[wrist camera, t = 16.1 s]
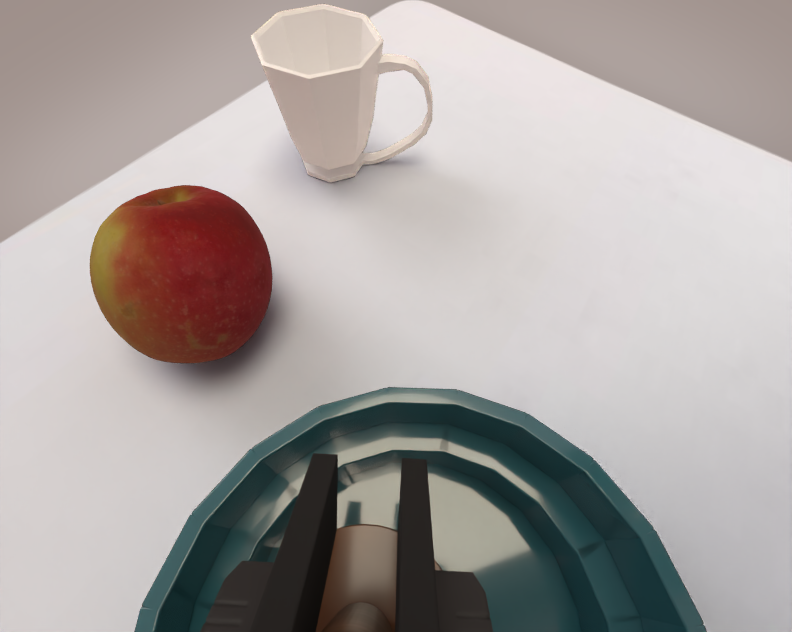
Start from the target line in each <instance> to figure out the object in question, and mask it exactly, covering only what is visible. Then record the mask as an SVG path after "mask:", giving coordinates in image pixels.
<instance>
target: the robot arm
mask: <svg viewBox="0 0 792 632" xmlns="http://www.w3.org/2000/svg"><path fill="white" fill-rule="evenodd" d="M337 489H338V455H336V454H317V453H313V455H312V458H311V461H310V464H309V466H308V469H307V472H306V475H305V478H304V480H303V483H302V486H301V489H300V492H299V494H298V497H297V500H296V503H295V506H294V508H293V511H292V514H291V517H290V520H289V523H288V525H287V528H286V531H285V534H284V537H283V539H282V542H281V545H280V548H279V551H278V553H277V556H276V559H275V562H259V561H241V562H240V563H239V564H238V565H237V567H236V568H235V569H234V570H233V571H232V572H231V573H230V574H229V575H228V576H227V577H226V578H225V580H224V582H223V584H222V586H221V588H220V590H219V592H218V594H217V597H216V599H215V602H214V605H212V607H211V609H210V611H209V614H208V616H207V618H206V622H205V624H203V626H202V629H201V631H200V632H316V628H317V623H318V618H319V613H320V609H321V604H322V599H323V594H324V589H325V584H326V579H327V575H328V570H329V565H330V560H331V555H332V550H333V545H334V541H335V536H336V531H337ZM395 632H493V628H492V623H491V619H490V613H489V608H488V602H487V597H486V592H485V591H484V589H483V587H482V586H481V584H480V583H479V581H478V579H477V578H476V576H475V575H474V573H473V572H460V571H443V570H435V561H434V548H433V535H432V522H431V509H430V496H429V483H428V470H427V459H410V458H402V466H401V483H400V500H399V517H398V538H397V576H396V615H395Z"/></svg>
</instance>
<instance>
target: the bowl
mask: <svg viewBox="0 0 792 632" xmlns="http://www.w3.org/2000/svg"><path fill="white" fill-rule="evenodd" d="M313 453H317V454H336V455H338V489H337V529H338V528H341V527H345V526H350V525H357V524H372V525H380V526H384V527H389V528H391V529H394V530H397V531H398V517H399V500H400V483H401V466H402V458H410V459H427V470H428V483H429V496H430V509H431V522H432V535H433V548H434V559H435V561H436V562H437V563H438V564H439V566H440V567H441V569H442V570H443V571H460V572H473V573H474V575H475V576H476V578H477V579H478V581H479V583H480V584H481V586H482V587H483V589H484V591H485V592H486V597H487V602H488V608H489V613H490V619H491V623H492V628H493V632H706V628H705V626H704V625H703V620H702V618H701V616H700V615H699V613H698V611H697V609H696V607H695V605H694V603H693V601H692V599H691V597H690V595H689V593H688V592H687V590H686V588H685V586H684V584H683V582H682V580H681V578H680V576H679V574H678V572H677V571H676V569H675V567H674V565H673V563H672V561H671V559H670V557H669V555H668V553H667V551H666V549H665V548H664V546H663V544H662V542H661V540H660V538H659V536H658V534H657V532H656V531H655V530H653V529H654V528H653V526H652V525H651V524H650V523H649V522H648V521H647V519H646V518H645V517H644V516H643V515H642V514H641V513H640V511H639V510H638V509H637V508H636V507H635V506H634V504H633V503H632V502H631V501H630V500H629V499H628V498H627V496H626V495H625V494H624V493H623V492H622V491H621V490H620V488H619V487H618V486H617V485H616V484H615V483H614V481H613V480H612V479H611V478H610V477H609V476H608V475H607V473H606V472H605V471H604V470H603V469H602V468H601V467H600V465H599V464H598V463H597V462H596V461H595V460H593V458H592V457H591V456H589V455H588V454H586V453H585V452H583V451H582V450H580V449H579V448H578V447H576V446H575V445H573V444H572V443H570V442H569V441H567V440H566V439H564V438H563V437H562V436H560V435H559V434H557V433H556V432H554V431H553V430H551V429H550V428H548V427H547V426H546V425H544V424H543V423H541V422H540V421H538V420H537V419H535V418H534V417H532V416H531V415H530V414H527V413H525V412H522V411H519V410H516V409H513V408H511V407H508V406H505V405H502V404H499V403H496V402H493V401H490V400H487V399H484V398H481V397H478V396H475V395H472V394H469V393H466V392H463V391H460V390H457V389H428V388H397V387H388V388H383V389H380V390H376V391H372V392H369V393H365V394H361V395H358V396H354V397H350V398H347V399H343V400H340V401H336V402H332V403H329V404H325V405H321V406H319V407H317V408H315V409H313V410H311V411H310V412H308V413H307V414H305V415H303V416H302V417H300V418H299V419H297V420H295V421H294V422H292V423H291V424H289V425H287V426H286V427H284V428H283V429H281V430H279V431H278V432H276V433H275V434H273V435H271V436H270V437H268V438H267V439H265V440H263V441H262V442H260V443H258V444H257V445H255V446H254V447H253V448H252V449H250V450H249V451H248V452H247V453H246V454H245V455H244V456H243V458H242V459H241V460H240V461H239V462H238V463H237V464H236V465H235V466H234V467H233V468H232V470H231V471H230V472H229V473H228V474H227V475H226V476H225V477H224V478H223V479H222V480H221V482H220V483H219V484H218V485H217V486H216V487H215V488H214V489H213V490H212V491H211V492H210V494H209V495H208V496H207V497H206V498H205V499H204V500H203V501H202V502H201V503H200V504H199V506H198V507H197V508H196V509H195V510H194V511H193V512H192V515H190V516H189V518H188V520H187V522H186V524H185V525H184V527H183V529H182V531H181V533H180V535H179V537H178V538H177V540H176V542H175V544H174V546H173V548H172V550H171V552H170V553H169V555H168V557H167V559H166V561H165V563H164V565H163V566H162V568H161V570H160V572H159V574H158V576H157V578H156V579H155V581H154V583H153V585H152V587H151V589H150V591H149V593H148V594H147V596H146V598H145V600H144V602H143V604H142V606H143V607H141V609H140V613H139V616H138V620H137V624H136V628H135V632H200V631H201V629H202V626H203V624H205V622H206V618H207V616H208V614H209V611H210V609H211V607H212V605H214V602H215V599H216V597H217V594H218V592H219V590H220V588H221V586H222V584H223V582H224V580H225V578H226V577H227V576H228V575H229V574H230V573H231V572H232V571H233V570H234V569H235V568H236V567H237V565H238V564H239V563H240V562H241V561H259V562H275V559H276V556H277V553H278V551H279V548H280V545H281V542H282V539H283V537H284V534H285V531H286V528H287V525H288V523H289V520H290V517H291V514H292V511H293V508H294V506H295V503H296V500H297V497H298V494H299V492H300V489H301V486H302V483H303V480H304V478H305V475H306V472H307V469H308V466H309V464H310V461H311V458H312V455H313Z"/></svg>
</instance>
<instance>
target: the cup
mask: <svg viewBox="0 0 792 632" xmlns="http://www.w3.org/2000/svg"><path fill="white" fill-rule="evenodd" d="M251 38H252V41H253V44H254V46H255V49H256V51H257V54H258V56H259V59H260V61H261V64H262V66H263V69H264V71H265V74H266V77H267V79H268V82H269V84H270V87H271V89H272V91H273V94H274V96H275V98H276V101H277V103H278V106H279V108H280V111H281V113H282V116H283V118H284V121H285V123H286V126H287V129H288V131H289V134H290V136H291V138H292V140H293V142H294V144H295V146H296V148H297V149H298V151H299V153H300V155H301V157H302V160H303V163H304V165H305V168H306V171H307V173H308V175H310V176H312V177H315V178H318V179H321V180H324V181H327V182H330V183H331V182H335V181H339V180H343V179H347V178H351V177H354V176H355V175H356V174H357V172H358V171H359V169H360V168H361V166H362V165H363V164H376V163H379V162H382V161H384V160H387V159H390V158H392V157H394V156H395V155H397V154H399V153H401V152H403V151H405V150H406V149H408V148H410V147H411V146H413V145H415V144H416V143H417V142H418V141H419V140H420V139H421V138H422V137H423V136H424V135H426V133H427V131H428V128H429V126H430V124H431V122H432V92H431V87H430V83H429V78H428V75H427V74H426V73H425V72H424V70H423V69H422V68H421V66H420V65H419V64H418V62H417V61H415V60H413V59H411V58H409V57H407V56H402V55H395V54H384V55H382V48H383V39H382V38H381V36H380V35H379V33H378V32H377V30H376V28H375V27H374V25H373V24H372V22H371V21H370V19H369V18H368V16H367V15H365V14H361V13H357V12H354V11H349V10H346V9H342V8H338V7H334V6H330V5H327V4H320V5H314V6H308V7H303V8H297V9H292V10H286V11H280V12H277V13H276V14H275V15H274V16H273V17H272V18H270V20H268V21H267V22H266V23H265V24H264V25H263V26H262V27H261V28H260V29H258V30H257V31H256V32H255V33H254V34H253V35H252V36H251ZM400 70H406V71H408V72H410V73H412V74H413V75H414V76H415V77H416V79H417V80H418V81H419V82H420V84H421V85H422V86H423V88H424V90H425V95H426V100H427V105H428V112H427V114H426V116H425V119H424V121H423V123H422V125H421V126H420V127H419V128H417V129H416V130H415V131H414V132H413V133H412V134H410V135H409V136H407V137H405V138H404V139H402V140H401V141H399V142H397V143H395V144H394V145H392V146H390V147H388V148H386V149H383V150H380V151H378V152H375V153H363V150H364V149H365V147H366V145H367V141H368V137H369V133H370V129H371V125H372V121H373V116H374V108H375V99H376V91H377V83H378V77H379V74H382V73H386V72H392V71H400Z"/></svg>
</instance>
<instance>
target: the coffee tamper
mask: <svg viewBox="0 0 792 632" xmlns="http://www.w3.org/2000/svg"><path fill="white" fill-rule="evenodd" d="M397 538H398V531H397V530H394V529H391V528H389V527H384V526H380V525H372V524H357V525H350V526H345V527H341V528H338V529H337V531H336V536H335V541H334V545H333V550H332V555H331V560H330V565H329V570H328V575H327V579H326V584H325V589H324V594H323V599H322V604H321V609H320V613H319V618H318V623H317V628H316V632H395V615H396V576H397ZM434 561H435V559H434ZM435 570H442V569H441V567H440V566H439V564H438V563H437V562H436V561H435Z"/></svg>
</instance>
